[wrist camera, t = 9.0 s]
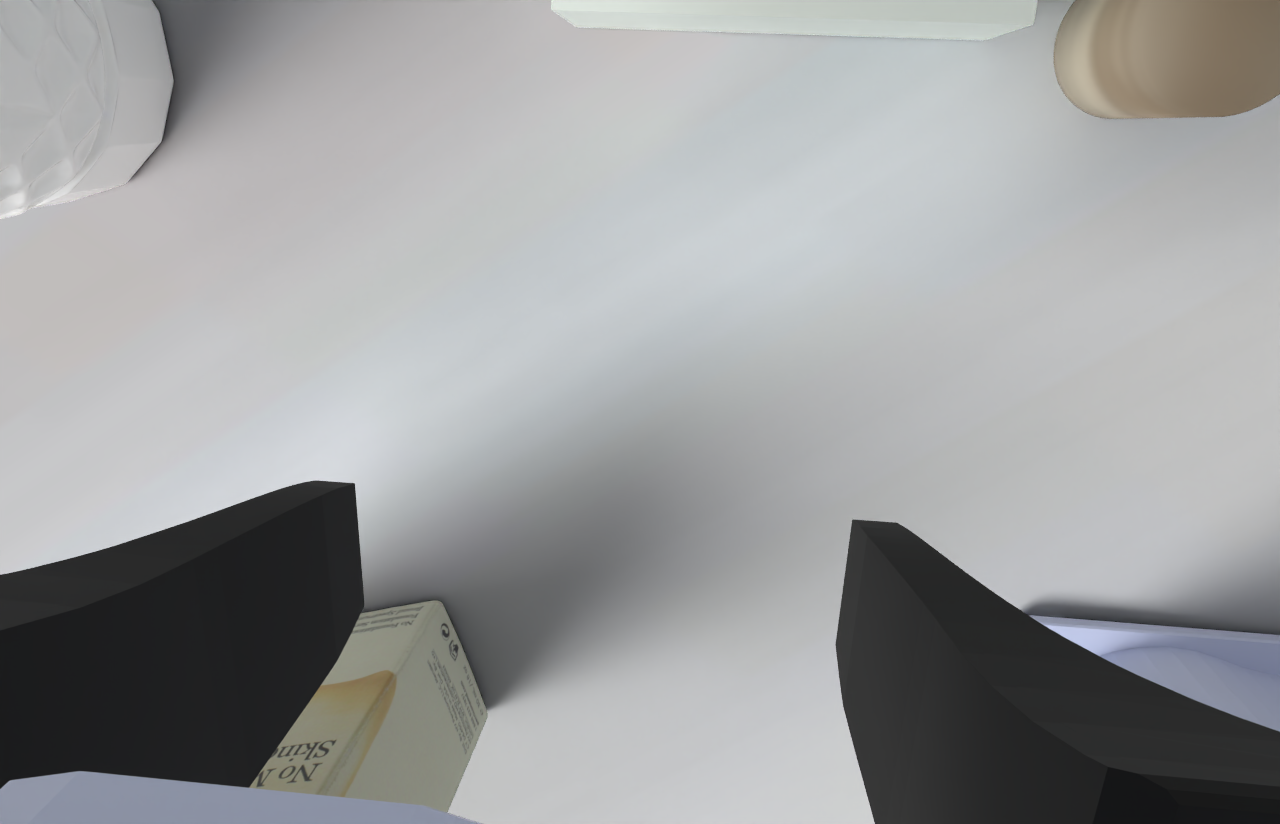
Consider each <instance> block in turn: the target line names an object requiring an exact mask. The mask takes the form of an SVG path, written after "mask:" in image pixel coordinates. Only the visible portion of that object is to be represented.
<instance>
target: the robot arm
mask: <svg viewBox="0 0 1280 824" xmlns="http://www.w3.org/2000/svg"><path fill="white" fill-rule="evenodd" d="M363 607H364V594H363V581H362V569H361V556H360V544H359V531H358V519H357V506H356V493H355V483H342V482H328V481H310V482H304V483H300V484H296V485H292V486H289V487H286V488H282V489H279V490H276V491H273V492H270V493H267V494H264V495H261V496H258V497H256V498H253V499H250V500H247V501H244V502H242V503H239V504H236V505H233V506H231V507H228V508H225V509H222V510H219V511H217V512H214V513H211V514H208V515H206V516H203V517H200V518H197V519H195V520H192V521H189V522H186V523H183V524H180V525H177V526H174V527H171V528H168V529H165V530H162V531H159V532H156V533H153V534H150V535H147V536H144V537H141V538H138V539H135V540H132V541H129V542H126V543H123V544H120V545H116V546H113V547H110V548H106V549H103V550H100V551H96V552H92V553H89V554H85V555H82V556H78V557H74V558H70V559H67V560H63V561H59V562H55V563H51V564H47V565H43V566H39V567H35V568H31V569H26V570H22V571H17V572H13V573H8V574H3V575H0V824H482V823H479V822H475V821H472V820H469V819H466V818H463V817H459V816H456V815H453V814H450V813H447V812H443V811H440V810H437V809H434V808H431V807H427V806H424V805H415V804H405V803H395V802H385V801H375V800H365V799H355V798H345V797H335V796H325V795H315V794H305V793H295V792H285V791H276V790H266V789H256V788H249V787H250V786H251V784H252V783H253V781H254V780H255V779H256V777H257V776H258V774H259V773H260V771H261V770H262V769H263V767H264V766H265V764H266V763H267V762H268V760H269V759H270V757H271V756H272V754H273V753H274V752H275V750H276V749H277V747H278V746H279V744H280V743H281V742H282V740H283V739H284V737H285V736H286V735H287V733H288V732H289V730H290V729H291V727H292V726H293V725H294V723H295V722H296V720H297V719H298V717H299V716H300V715H301V713H302V712H303V710H304V709H305V708H306V706H307V705H308V703H309V702H310V700H311V699H312V697H313V696H314V695H315V693H316V692H317V690H318V689H319V687H320V686H321V684H322V683H323V681H324V680H325V678H326V677H327V676H328V674H329V673H330V671H331V670H332V668H333V667H334V665H335V664H336V662H337V660H338V658H339V657H340V655H341V653H342V651H343V649H344V647H345V645H346V643H347V641H348V639H349V637H350V635H351V633H352V631H353V629H354V627H355V625H356V622H357V620H358V618H359V616H360V614H361V612H362V610H363ZM836 652H837V661H838V669H839V678H840V685H841V693H842V700H843V707H844V710H845V714H846V718H847V722H848V726H849V730H850V733H851V737H852V741H853V745H854V748H855V752H856V756H857V760H858V763H859V767H860V770H861V774H862V778H863V781H864V785H865V789H866V792H867V796H868V800H869V803H870V807H871V811H872V814H873V818H874V822H875V824H1280V635H1272V634H1260V633H1247V632H1234V631H1222V630H1209V629H1197V628H1184V627H1172V626H1159V625H1146V624H1134V623H1121V622H1109V621H1096V620H1084V619H1071V618H1059V617H1046V616H1033V615H1030V616H1029V615H1027V614H1025V613H1024V612H1022V611H1021V610H1019V609H1018V608H1016V607H1015V606H1013V605H1011V604H1010V603H1008V602H1007V601H1005V600H1004V599H1002V598H1001V597H999V596H998V595H997V594H995V593H994V592H992V591H991V590H989V589H988V588H986V587H985V586H984V585H982V584H981V583H979V582H978V581H977V580H975V579H974V578H973V577H971V576H970V575H968V574H967V573H966V572H964V571H963V570H962V569H960V568H959V567H958V566H956V565H955V564H954V563H952V562H951V561H950V560H948V559H947V558H946V557H944V556H943V555H942V554H940V553H939V552H938V551H936V550H935V549H934V548H933V547H931V546H930V545H929V544H927V543H926V542H925V541H923V540H922V539H921V538H919V537H918V536H916V535H915V534H914V533H912V532H911V531H909V530H908V529H906V528H905V527H903V526H901V525H900V524H898V523H892V522H878V521H864V520H852V526H851V534H850V541H849V549H848V556H847V564H846V571H845V579H844V586H843V594H842V601H841V609H840V616H839V624H838V631H837V639H836Z"/></svg>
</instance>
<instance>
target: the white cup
mask: <svg viewBox="0 0 1280 824" xmlns="http://www.w3.org/2000/svg"><path fill="white" fill-rule="evenodd" d="M173 83H174V78H173V74H172V69H171V64H170V60H169V55H168V50H167V46H166V41H165V36H164V32H163V27H162V22H161V18H160V13H159V11H158V9H157V8H156V6H155V4H154V3H153V1H152V0H0V219H4V218H8V217H12V216H16V215H20V214H22V213H25V212H26V211H28V210H29V209H32V208H37V207H43V206H49V205H55V204H61V203H67V202H72V201H76V200H79V199H82V198H85V197H88V196H91V195H94V194H97V193H100V192H103V191H106V190H110V189H113V188H116V187H119V186H122V185H125V184H126V183H127V182H128V181H129V180H130V179H131V177H132V176H133V175H134V174H135V173H136V172H137V170H138V169H139V168H140V167H141V166H142V164H143V163H144V162H145V161H146V160H147V158H148V157H149V156H150V155H151V154H152V153H153V151H154V150H155V149H156V148H157V147H158V145H159V144H160V143H161V141H162V138H163V133H164V128H165V123H166V118H167V113H168V108H169V103H170V98H171V93H172V88H173Z"/></svg>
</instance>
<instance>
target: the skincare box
mask: <svg viewBox="0 0 1280 824" xmlns="http://www.w3.org/2000/svg"><path fill="white" fill-rule="evenodd" d="M487 714H488V713H487V710H486V707H485V705H484V702H483V700H482V697H481V694H480V692H479V689H478V686H477V683H476V681H475V678H474V676H473V673H472V670H471V668H470V665H469V663H468V660H467V658H466V655H465V653H464V651H463V648H462V645H461V643H460V641H459V639H458V636H457V634H456V632H455V630H454V627H453V625H452V623H451V621H450V619H449V617H448V614H447V612H446V610H445V608H444V606H443V604H442V603H441V602H440V601H437V600H435V601H427V602H421V603H415V604H409V605H404V606H398V607H392V608H387V609H382V610H377V611H372V612H366V613H361V614H360V616H359V618H358V620H357V622H356V625H355V627H354V629H353V631H352V633H351V635H350V637H349V639H348V641H347V643H346V645H345V647H344V649H343V651H342V653H341V655H340V657H339V658H338V660H337V662H336V664H335V665H334V667H333V668H332V670H331V671H330V673H329V674H328V676H327V677H326V678H325V680H324V681H323V683H322V684H321V686H320V687H319V689H318V690H317V692H316V693H315V695H314V696H313V697H312V699H311V700H310V702H309V703H308V705H307V706H306V708H305V709H304V710H303V712H302V713H301V715H300V716H299V717H298V719H297V720H296V722H295V723H294V725H293V726H292V727H291V729H290V730H289V732H288V733H287V735H286V736H285V737H284V739H283V740H282V742H281V743H280V744H279V746H278V747H277V749H276V750H275V752H274V753H273V754H272V756H271V757H270V759H269V760H268V762H267V763H266V764H265V766H264V767H263V769H262V770H261V771H260V773H259V774H258V776H257V777H256V779H255V780H254V781H253V783H252V784H251V786H250V787H249V788H256V789H266V790H276V791H285V792H295V793H305V794H315V795H325V796H335V797H345V798H355V799H365V800H375V801H385V802H395V803H405V804H415V805H424V806H427V807H431V808H434V809H437V810H440V811H443V812H448V810H449V807H450V805H451V803H452V800H453V798H454V796H455V793H456V791H457V788H458V786H459V784H460V781H461V779H462V777H463V774H464V772H465V769H466V767H467V765H468V763H469V760H470V758H471V755H472V753H473V750H474V748H475V746H476V743H477V741H478V739H479V736H480V734H481V731H482V729H483V727H484V724H485V722H486V719H487Z"/></svg>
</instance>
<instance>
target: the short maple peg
mask: <svg viewBox="0 0 1280 824" xmlns="http://www.w3.org/2000/svg"><path fill="white" fill-rule="evenodd" d="M1054 68H1055V73H1056V77H1057V81H1058V83H1059V85H1060V87H1061V89H1062V91H1063V92H1064V94H1065V96H1066V97H1067V98H1068V99H1069V100H1070V101H1071V102H1072V103H1073V104H1074V105H1075V106H1076V107H1077V108H1079V109H1081V110H1082V111H1084V112H1086V113H1088V114H1090V115H1093V116H1096V117H1100V118H1107V119H1131V118H1183V117H1224V116H1230V115H1236V114H1239V113H1243V112H1247V111H1249V110H1252V109H1254V108H1256V107H1259V106H1261V105H1263V104H1264V103H1266V102H1268V101H1270V100H1271V99H1273V98H1274V97H1276V96H1277V95H1279V94H1280V0H1076V1H1075V2H1074V3H1073V4H1072V5H1071V7H1070V8H1069V10H1068V11H1067V13H1066V15H1065V17H1064V19H1063V20H1062V22H1061V25H1060V27H1059V30H1058V33H1057V36H1056V41H1055V46H1054Z"/></svg>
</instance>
